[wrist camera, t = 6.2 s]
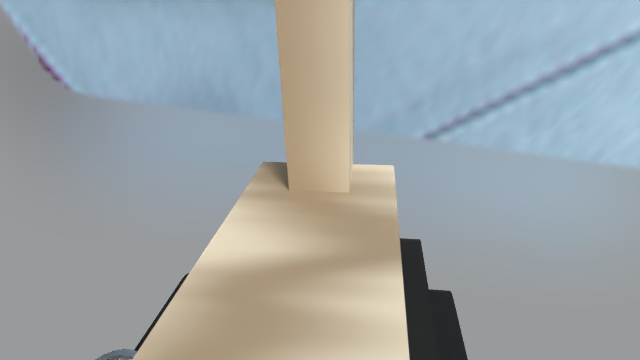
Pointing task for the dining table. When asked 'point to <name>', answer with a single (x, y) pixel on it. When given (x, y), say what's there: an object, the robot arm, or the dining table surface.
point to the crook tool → (300, 228)
